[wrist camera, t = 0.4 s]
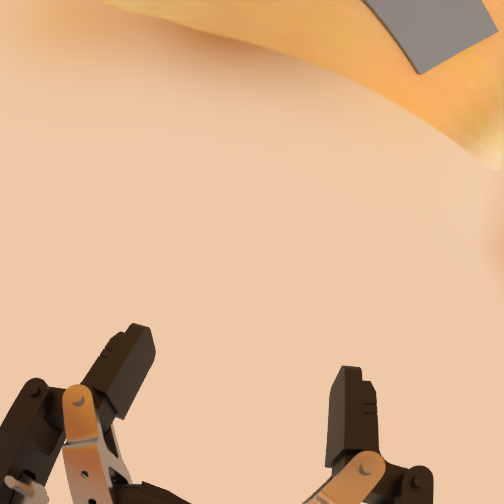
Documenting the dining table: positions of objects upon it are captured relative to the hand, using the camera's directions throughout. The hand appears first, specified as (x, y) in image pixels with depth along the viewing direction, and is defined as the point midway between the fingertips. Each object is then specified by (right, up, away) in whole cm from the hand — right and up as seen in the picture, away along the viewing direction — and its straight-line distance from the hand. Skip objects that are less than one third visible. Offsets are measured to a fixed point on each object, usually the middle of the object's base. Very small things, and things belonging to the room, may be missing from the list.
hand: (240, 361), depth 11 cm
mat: (+18, +32, +5) cm, 37 cm away
